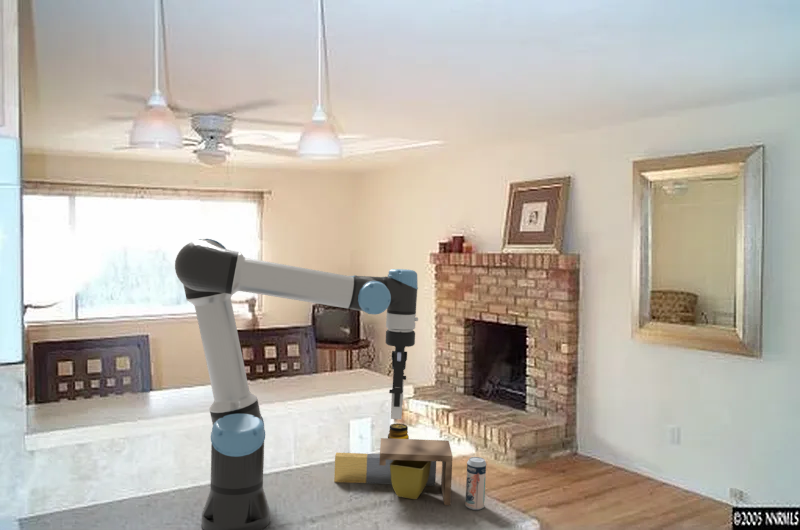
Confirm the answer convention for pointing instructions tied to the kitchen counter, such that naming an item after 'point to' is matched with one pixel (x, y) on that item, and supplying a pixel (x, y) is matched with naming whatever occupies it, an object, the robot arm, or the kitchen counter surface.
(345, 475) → the two-tone wooden bar
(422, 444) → the small brown wooden table
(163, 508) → the kitchen counter surface
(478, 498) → the beer can
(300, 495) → the kitchen counter surface
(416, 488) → the flower pot
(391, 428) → the condiment
